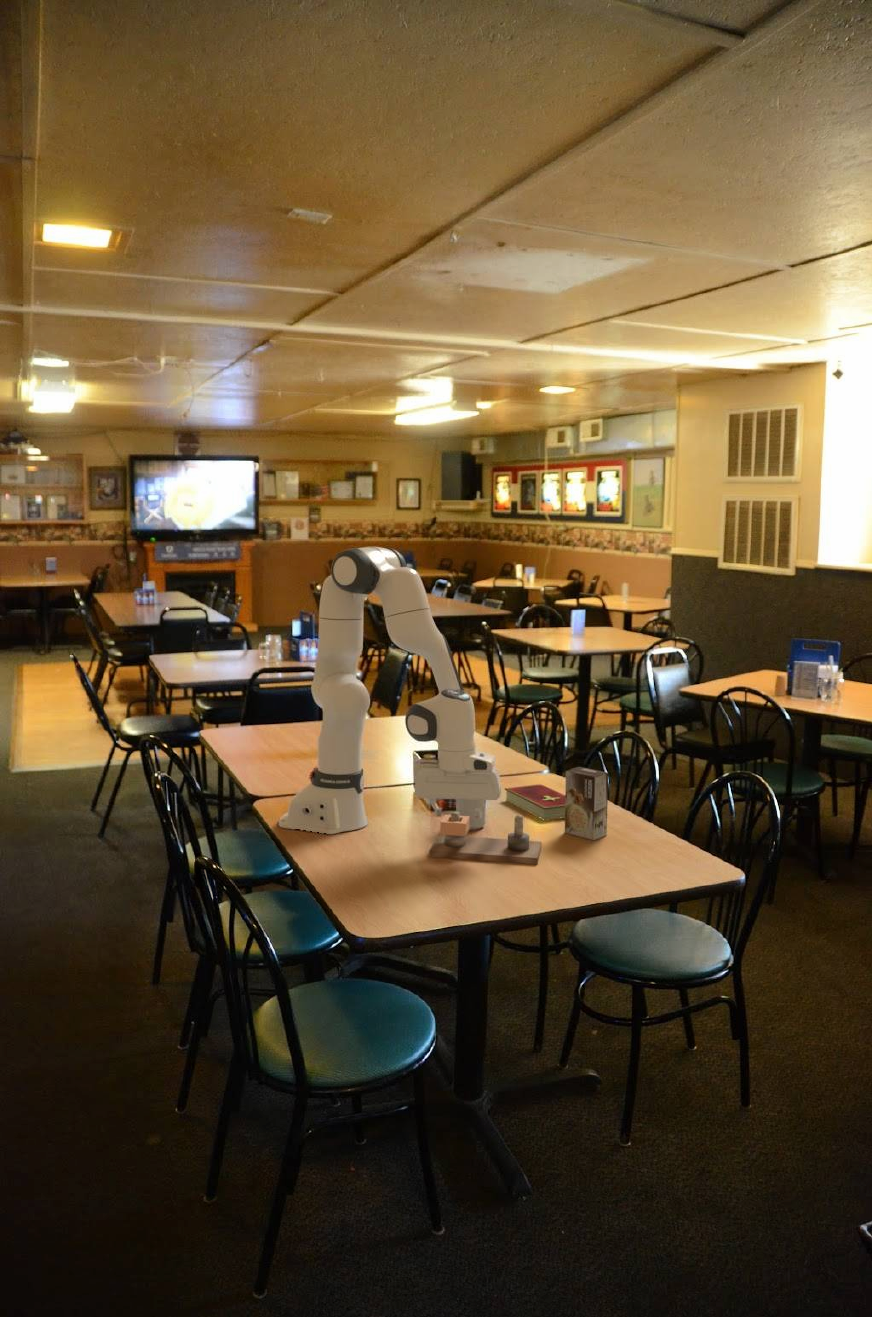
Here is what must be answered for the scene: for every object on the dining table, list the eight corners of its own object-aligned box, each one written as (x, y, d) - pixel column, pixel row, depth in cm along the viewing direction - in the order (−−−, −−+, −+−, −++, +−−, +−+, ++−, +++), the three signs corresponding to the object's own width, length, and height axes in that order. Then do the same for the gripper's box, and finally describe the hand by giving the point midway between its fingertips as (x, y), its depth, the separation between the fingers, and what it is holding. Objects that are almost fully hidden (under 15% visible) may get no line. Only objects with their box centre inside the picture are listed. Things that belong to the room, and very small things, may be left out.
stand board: (429, 856, 233) (429, 817, 232) (438, 840, 245) (438, 802, 243) (537, 864, 229) (538, 824, 227) (541, 847, 240) (542, 809, 239)
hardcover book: (541, 797, 286) (541, 782, 285) (582, 817, 267) (583, 801, 266) (504, 802, 280) (504, 787, 280) (544, 822, 262) (544, 807, 261)
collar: (440, 834, 235) (440, 822, 234) (444, 826, 241) (444, 814, 240) (465, 836, 234) (465, 823, 233) (469, 828, 240) (469, 816, 239)
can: (482, 831, 252) (483, 785, 250) (453, 829, 253) (454, 783, 252) (487, 823, 259) (488, 777, 257) (458, 821, 261) (459, 776, 259)
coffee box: (608, 835, 250) (610, 772, 248) (593, 841, 246) (595, 777, 244) (577, 827, 257) (579, 765, 254) (562, 832, 252) (564, 770, 250)
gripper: (410, 762, 233) (412, 819, 235) (498, 763, 230) (499, 822, 232) (415, 755, 239) (417, 811, 241) (501, 756, 236) (502, 813, 238)
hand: (458, 816), depth 237 cm, fingers open, 8 cm apart
